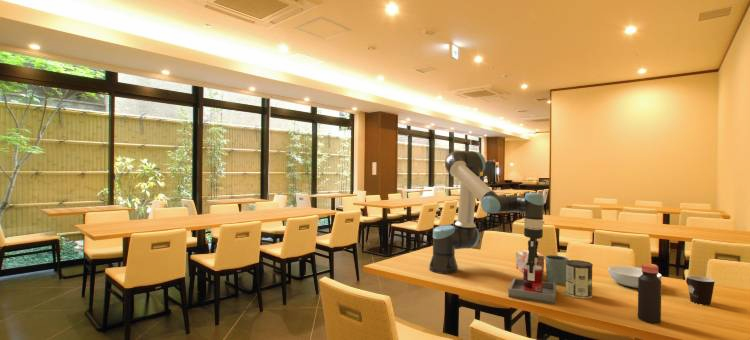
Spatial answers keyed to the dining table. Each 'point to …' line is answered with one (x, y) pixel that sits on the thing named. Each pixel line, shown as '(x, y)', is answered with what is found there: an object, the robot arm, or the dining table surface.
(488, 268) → the dining table surface
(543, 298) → the tray
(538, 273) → the canned food
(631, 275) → the serving bowl
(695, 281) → the coffee mug
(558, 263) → the grey cylinder
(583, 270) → the coffee can
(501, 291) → the dining table surface
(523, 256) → the white food box
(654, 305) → the bottle
